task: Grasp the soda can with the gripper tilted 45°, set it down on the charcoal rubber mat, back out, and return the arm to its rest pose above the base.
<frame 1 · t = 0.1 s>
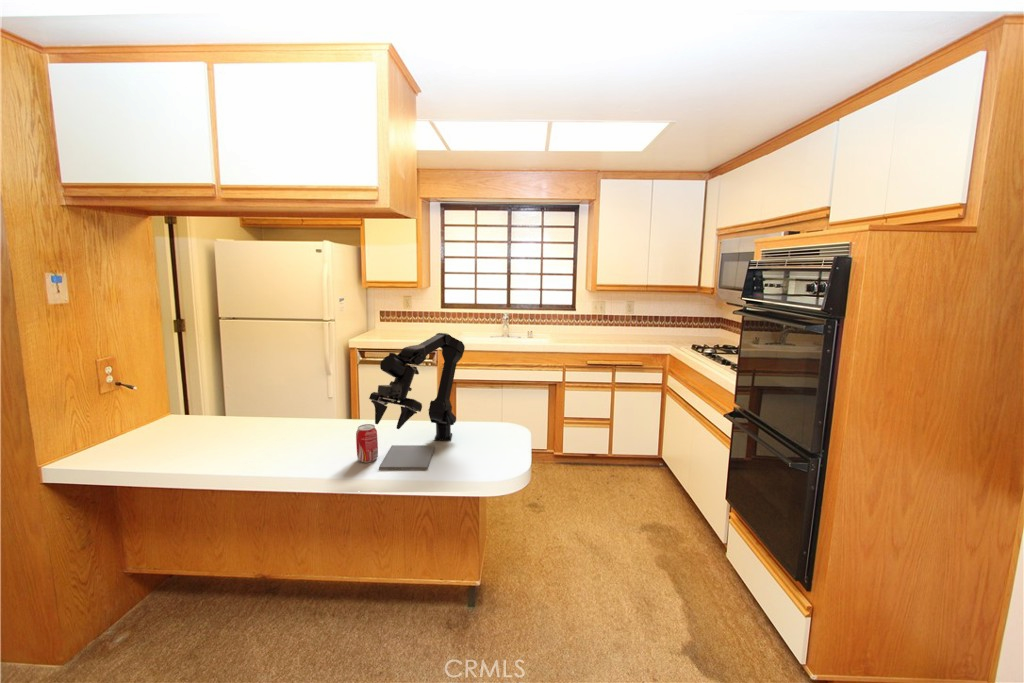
hand: (386, 426, 149), 15 cm above the worktop, tool tilted 35°, fingers open, 9 cm apart
soda can: (367, 460, 158), on the worktop
charcoal mat: (408, 458, 159), on the worktop
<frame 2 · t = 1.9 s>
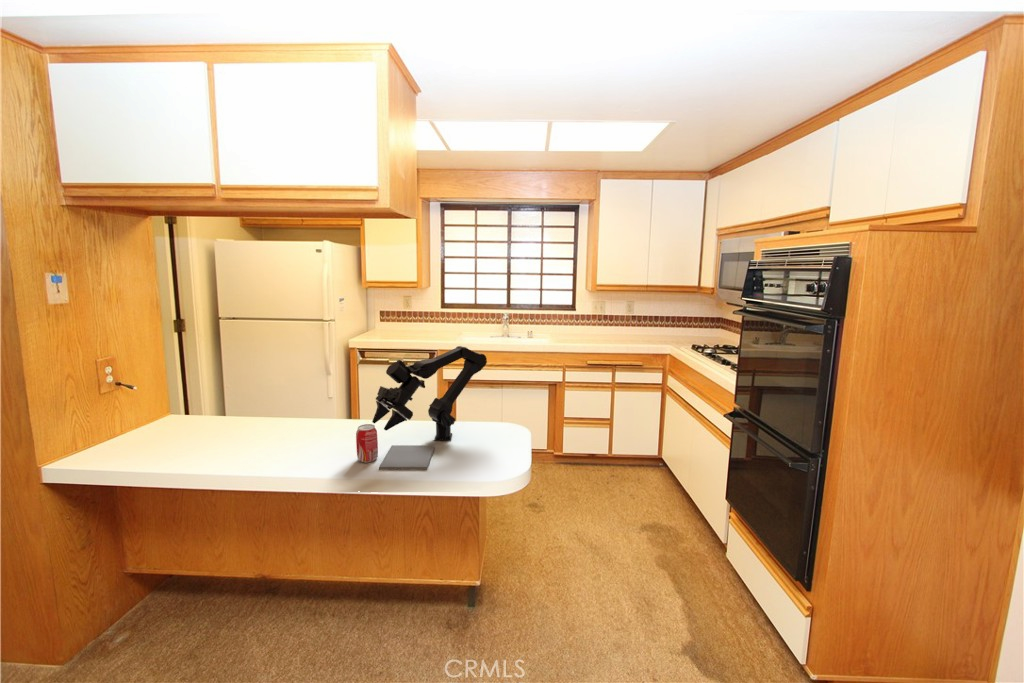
hand: (378, 426, 159), 11 cm above the worktop, tool tilted 45°, fingers open, 9 cm apart
nothing on the worktop moved.
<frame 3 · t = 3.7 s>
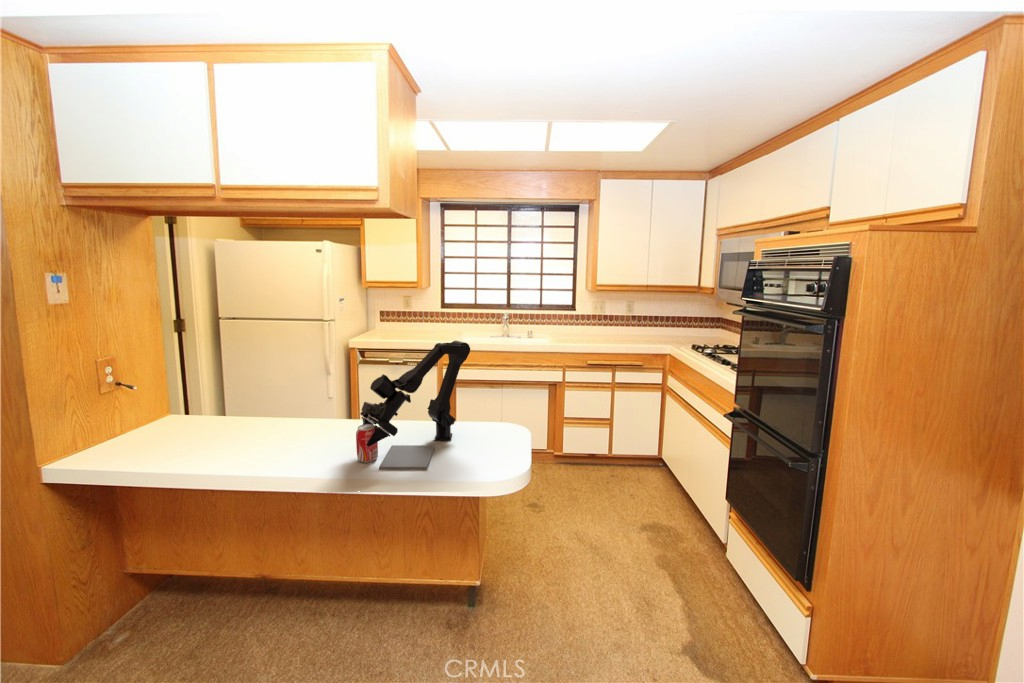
hand: (363, 442, 156), 7 cm above the worktop, tool tilted 45°, fingers closed on soda can, 7 cm apart
soda can: (367, 460, 158), on the worktop, touching gripper
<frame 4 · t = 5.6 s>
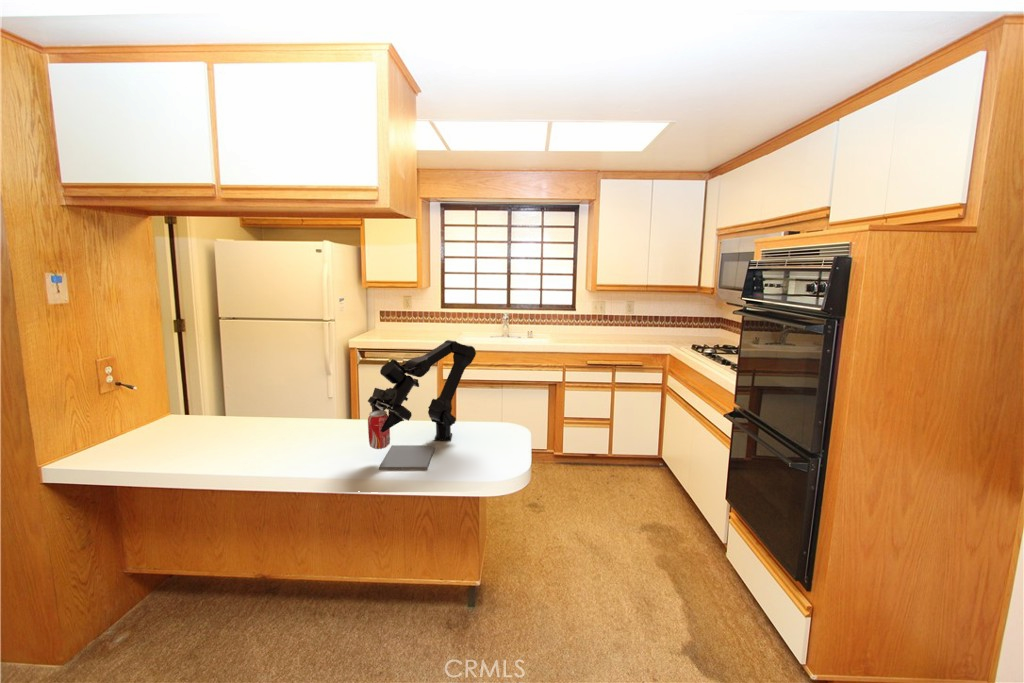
hand: (375, 429, 154), 12 cm above the worktop, tool tilted 45°, fingers closed on soda can, 7 cm apart
soda can: (380, 446, 156), point 5 cm above the worktop, touching gripper
when the fingers open (9 cm above the worktop, at t = 7.5 s): soda can drops 1 cm, resting on charcoal mat.
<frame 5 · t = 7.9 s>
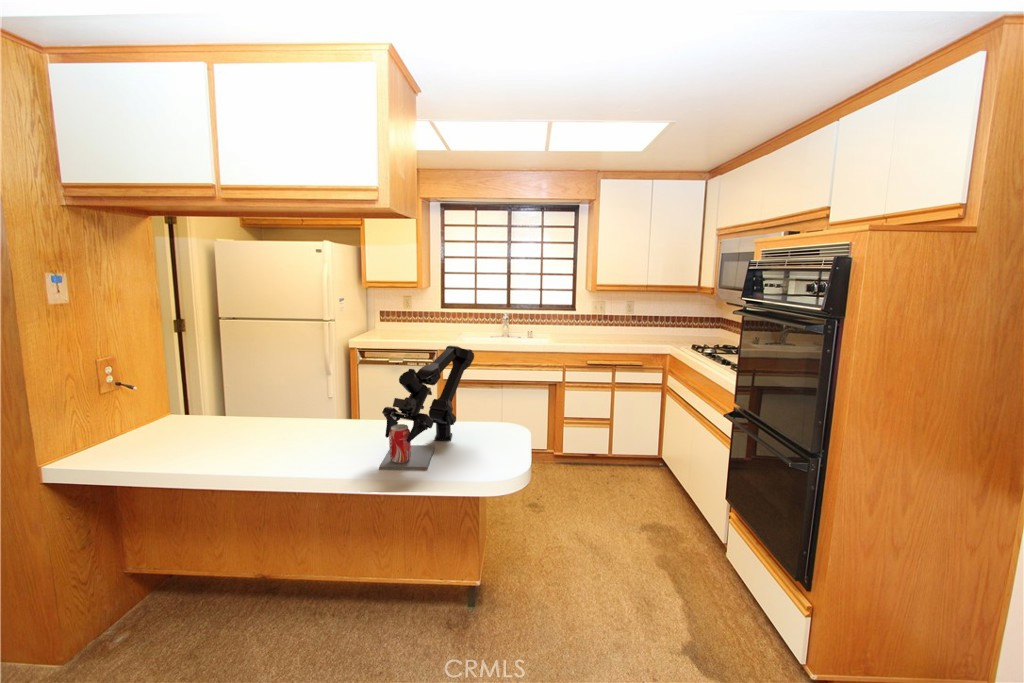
hand: (396, 439, 153), 9 cm above the worktop, tool tilted 45°, fingers open, 9 cm apart
soda can: (400, 460, 155), point 1 cm above the worktop, touching charcoal mat
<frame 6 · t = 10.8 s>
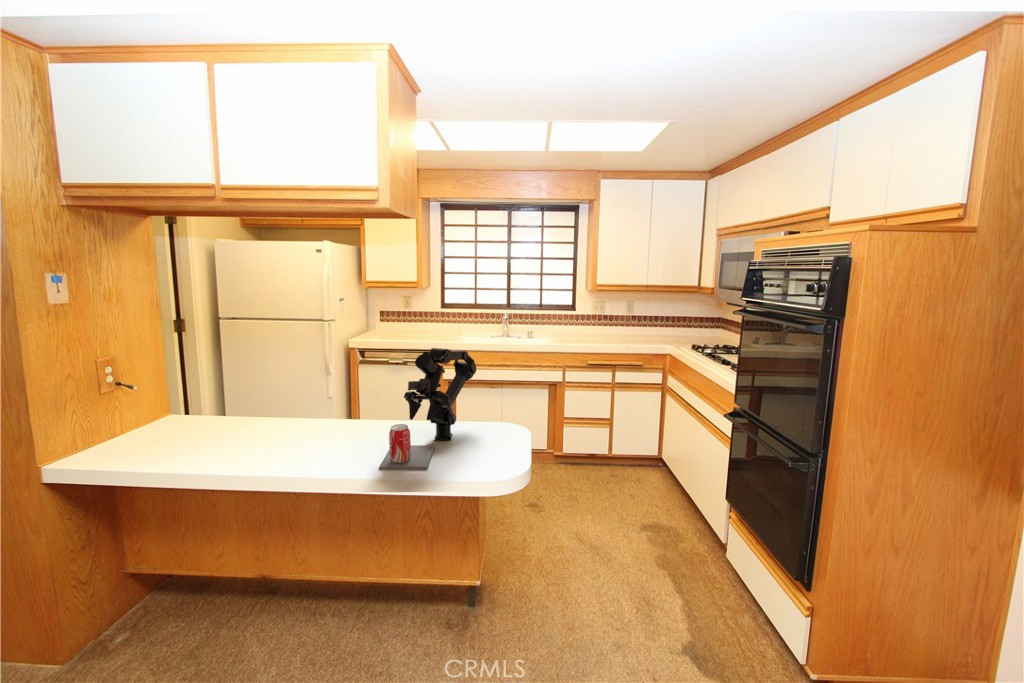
hand: (419, 419, 160), 13 cm above the worktop, tool tilted 35°, fingers open, 9 cm apart
nothing on the worktop moved.
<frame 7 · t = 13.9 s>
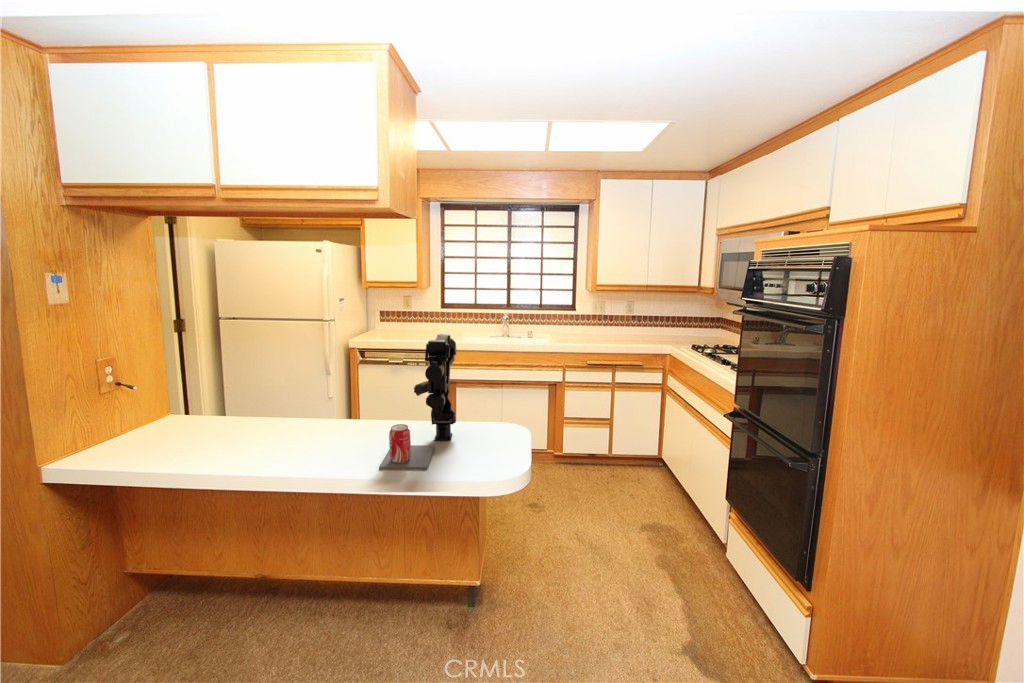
hand: (438, 416, 164), 13 cm above the worktop, tool pointing down, fingers open, 9 cm apart
nothing on the worktop moved.
at the end: soda can inside the target area on the charcoal mat (3.7 cm from its centre), point 0.8 cm above the charcoal mat's base; soda can tilted 0°; the gripper is holding nothing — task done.
